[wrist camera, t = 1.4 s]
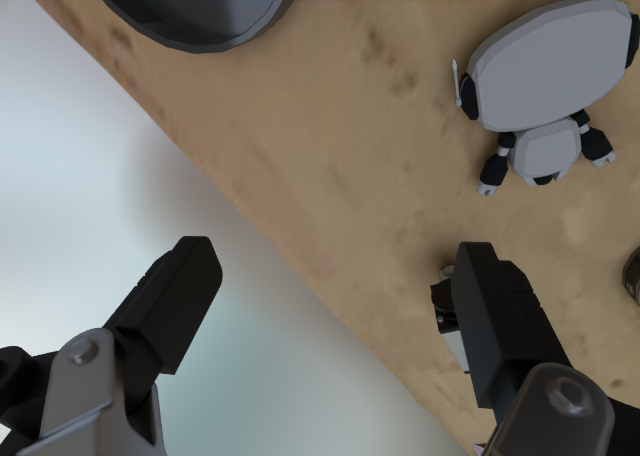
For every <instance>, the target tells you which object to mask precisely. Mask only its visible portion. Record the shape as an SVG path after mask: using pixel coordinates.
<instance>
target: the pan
mask: <svg viewBox="0 0 640 456" xmlns="http://www.w3.org/2000/svg"><path fill="white" fill-rule="evenodd" d="M103 1H104V2H105V4H106V5H107V6H108V7H109V8H110V9H111V10H112V11H113V12H115V13H116V14H117V15H118V16H119V17H121V18H122V19H123V20H124V21H125V22H127V23H128V24H129V25H130V26H131V27H133V28H134V29H135V30H136V31H138V32H139V33H141V34H143V35H145V36H147V37H149V38H151V39H152V40H154V41H156V42H158V43H160V44H162V45H164V46H166V47H168V48H173V49H177V50H181V51H185V52H189V53H194V54H201V53H216V52H224V51H226V50H229V49H231V48H233V47H236V46H238V45H241V44H243V43H245V42H248V41H250V40H252V39H255V38H257V37H259V36H261V35H263V34H264V33H265V32H266V31H267V30H268V29H270V28H271V27H272V26H273V25H274V24H275V23H276V22H278V21H279V20H280V19H281V18H282V17H283V16H284V14H285V12H286V11H287V10H288V8H289V7H290V5H291V4H292V2H293V1H294V0H103Z"/></svg>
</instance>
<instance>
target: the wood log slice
mask: <svg viewBox="0 0 640 456" xmlns="http://www.w3.org/2000/svg"><path fill="white" fill-rule="evenodd" d="M623 285H624V287H625V288H626V290H627V291H628V293H629V294H630V295H631V297H632V298H633V299H634V300H635V301H636V303H637V304H638V305H639V306H640V247H639V248H638V249H637V250H636V251H635V252H634V253H633V254H632V255H631V257H630V258H629V260H628V262H627V264H626V265H625V267H624V269H623Z"/></svg>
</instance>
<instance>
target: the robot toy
mask: <svg viewBox="0 0 640 456" xmlns="http://www.w3.org/2000/svg"><path fill="white" fill-rule="evenodd" d="M639 42H640V20H639V16H638V14H633V13H629V10H628V8H627V5H626V3H622V2H619V1H615V0H563V1H560V2H556V3H553V4H549V5H545V6H542V7H538V8H535V9H533V10H531V11H530V12H528V13H526V14H524V15H523V16H521V17H519V18H517V19H516V20H514V21H512V22H511V23H509V24H507V25H505V26H504V27H502V28H501V29H499V30H498V31H497V32H495V33H494V34H492V35H491V36H490V37H488V38H487V39H486V40H485V41H484V42H483V43H481V45H480V46H479V47H478V48H477V49H476V51H475V52H474V53H473V54H472V55H471V57H470V61H469V65H468V68H467V72H465V73H464V74H463V75H462V76H461V79H460V84H459V89H458V80H457V71H456V69H457V65H456V62H455V60H454V58H453V60H452V62H451V64H452V69H453V74H454V83H455V91H456V97H455V103H456V105H457V107H458V106H461V107H462V109H463V111H464V112H465V113H466V115H467V116H468V117H469V118H470V119H471V120H477V121H478V122H479V123H480V124H481V125H482V126H483V127H484V128H485V129H487V130H492V131H496V132H501V133H500V136H499V138H498V140H497V142H498V144H499V146H500V147H499V150H498V152H497V153H496V154H494V155H493V156H491V157H490V158H489V159H488V160H486V162H485V164H484V167H483V169H482V172H481V174H480V180H481V181H482V182H481V183H480V184H478V186H477V193H478V194H479V195H483V194H484V192H485V190H486V192H485V194H486V196H490V195H493V193H494V192H495V191H496V189H497V186H499V185H501V184H502V182H503V179H504V177H505V175H506V173H507V171H508V165H507V159H508V161H509V163H510V164H511V166H512V167H513V169H514V170H515V171H516V173H517V174H518V175H519V176H521V177H523V178H524V180H525V181H526V183H527V184H528V185H533V186H537V185H545V184H548V183H549V182H550V181H551V180H552V178H553V179H554V180H555V181H557V180H559V179H560V178H562V177H564V176H565V175H566V174H567V172H568V170H569V168H570V166H571V164H572V163H573V162H574V161H575V160H577V158H578V156H579V154H580V152H582V153H583V155H584V156H585V158H587V159H589V160H590V164H591V165H593V166H594V167H597V168H600V167H603V166H605V165H604V164H603V163H602V161H603V160H605V159H606V161H608V162H609V163H610V162H612V161H613V160H614V159H615V151H614V150H613V148H612V146H611V144H610V142H609V141H608V139H607V138H606V136H605V134H604V133H603V131H600V130H598V129H595V128H592V127H588V125H587V124H586V123H587V122H588V121H590V119H589V116H588V115H587V113H586V112H585V110H584V109H583V108H585V107H587V106H589V105H591V104H593V103H594V102H596V101H597V100H599V99H600V98H602V97H603V96H604V95H605V94H606V93H608V92H609V91H610V90H611V89H612V88H614V87H615V86H616V84H617V83H618V82H619V80H620V79H621V78H622V76H623V75H624V71H625V69H626V68H628V67H629V66H630V65H631V63H632V61H633V58H634V56H635V53H636V51H637V50H638V46H639ZM536 184H537V185H536Z"/></svg>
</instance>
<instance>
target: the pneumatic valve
mask: <svg viewBox="0 0 640 456" xmlns="http://www.w3.org/2000/svg"><path fill="white" fill-rule="evenodd" d="M453 269H454V265H451V266H447V267H446V268H444V269H443V270H439V272H438V275H439V277H440V279H441V282H439V283H438V284H435V285H431V286H430V287H431V292H432V294H431V299H432V302H433V304H434V308H435V314H436V319H437V324H438V330H439V332H440V333H441V335H442V337H443V338H444V340H445V342H446V343H447V345H448V347H449V348H450V350H451V351H452V353H453V355H454V356H455V358H456V360H457V361H458V363H459V365H460V366H461V368H462V370H463V371H464V373H465V374H469V373H470V371H469V367H468V363H467V359H466V354H465V350H464V346H463V342H462V338H461V333H460V329H459V325H458V321H457V317H456V312H455V308H454V304H453V300H452V294H451V278H452V274H453Z"/></svg>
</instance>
